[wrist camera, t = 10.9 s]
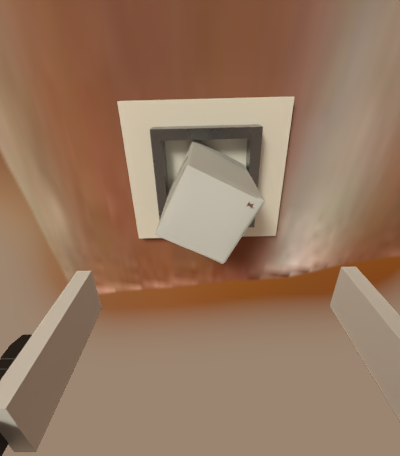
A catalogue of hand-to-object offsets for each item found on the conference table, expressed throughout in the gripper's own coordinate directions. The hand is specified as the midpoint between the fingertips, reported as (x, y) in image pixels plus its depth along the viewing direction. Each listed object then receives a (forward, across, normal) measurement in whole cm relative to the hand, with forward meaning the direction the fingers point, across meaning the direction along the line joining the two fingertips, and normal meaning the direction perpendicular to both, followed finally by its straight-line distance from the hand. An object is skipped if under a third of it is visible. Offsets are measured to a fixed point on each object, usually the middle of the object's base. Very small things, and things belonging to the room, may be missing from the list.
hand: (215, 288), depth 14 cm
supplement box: (+22, 0, 0) cm, 22 cm away
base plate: (+23, 0, 0) cm, 23 cm away
